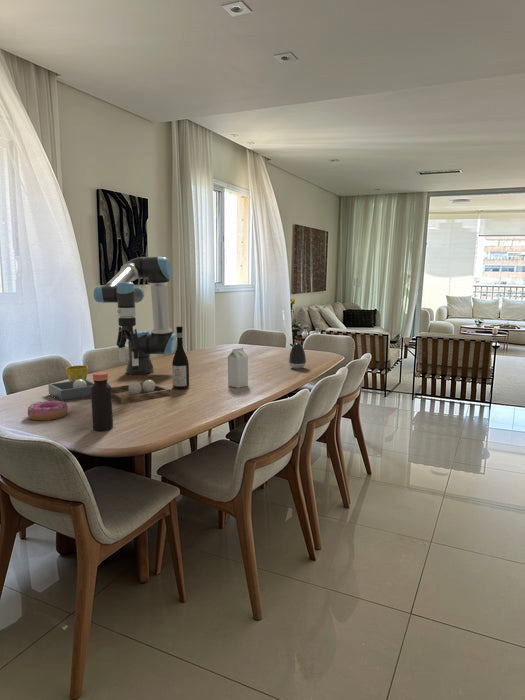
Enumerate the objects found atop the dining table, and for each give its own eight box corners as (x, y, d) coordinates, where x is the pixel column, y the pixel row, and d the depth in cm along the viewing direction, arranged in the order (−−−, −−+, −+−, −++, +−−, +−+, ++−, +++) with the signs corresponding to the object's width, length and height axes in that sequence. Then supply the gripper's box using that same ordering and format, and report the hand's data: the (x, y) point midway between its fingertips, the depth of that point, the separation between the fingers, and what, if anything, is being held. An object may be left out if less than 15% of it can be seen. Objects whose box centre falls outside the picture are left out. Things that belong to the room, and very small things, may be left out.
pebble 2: (138, 392, 222) (137, 379, 221) (144, 394, 217) (143, 382, 217) (126, 394, 218) (125, 381, 217) (132, 396, 214) (131, 383, 213)
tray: (147, 386, 234) (147, 381, 233) (170, 394, 217) (169, 389, 217) (100, 394, 218) (100, 389, 218) (121, 403, 202) (121, 398, 202)
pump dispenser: (294, 365, 289) (294, 341, 287) (309, 367, 283) (309, 342, 281) (285, 368, 281) (285, 343, 279) (300, 370, 275) (300, 344, 273)
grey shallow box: (85, 389, 229) (85, 379, 228) (99, 395, 216) (99, 384, 215) (48, 394, 218) (48, 384, 217) (61, 401, 205) (60, 390, 204)
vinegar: (96, 425, 172) (93, 371, 169) (115, 425, 172) (112, 371, 169) (90, 431, 165) (87, 375, 162) (110, 431, 165) (107, 375, 162)
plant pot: (62, 387, 232) (60, 367, 231) (79, 383, 242) (78, 364, 240) (77, 389, 228) (75, 369, 226) (93, 385, 237) (92, 366, 235)
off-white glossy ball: (84, 390, 223) (83, 377, 222) (89, 391, 218) (87, 378, 217) (71, 392, 219) (70, 379, 218) (76, 394, 214) (74, 381, 214)
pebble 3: (151, 390, 227) (151, 377, 226) (158, 392, 222) (157, 379, 221) (140, 392, 223) (139, 379, 222) (146, 394, 218) (145, 381, 217)
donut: (71, 418, 182) (70, 405, 181) (30, 424, 174) (29, 411, 173) (64, 409, 194) (63, 397, 193) (25, 415, 186) (24, 402, 185)
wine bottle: (185, 389, 227) (184, 327, 223) (170, 389, 229) (168, 327, 224) (191, 386, 235) (190, 326, 231) (176, 385, 237) (174, 325, 232)
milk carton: (228, 386, 235) (227, 348, 232) (238, 383, 240) (237, 346, 237) (237, 388, 230) (237, 349, 227) (248, 385, 235) (248, 348, 232)
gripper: (107, 315, 219) (110, 360, 223) (131, 319, 201) (133, 368, 204) (123, 315, 224) (125, 359, 227) (147, 318, 205) (149, 366, 208)
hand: (128, 363), depth 216 cm, fingers open, 13 cm apart
